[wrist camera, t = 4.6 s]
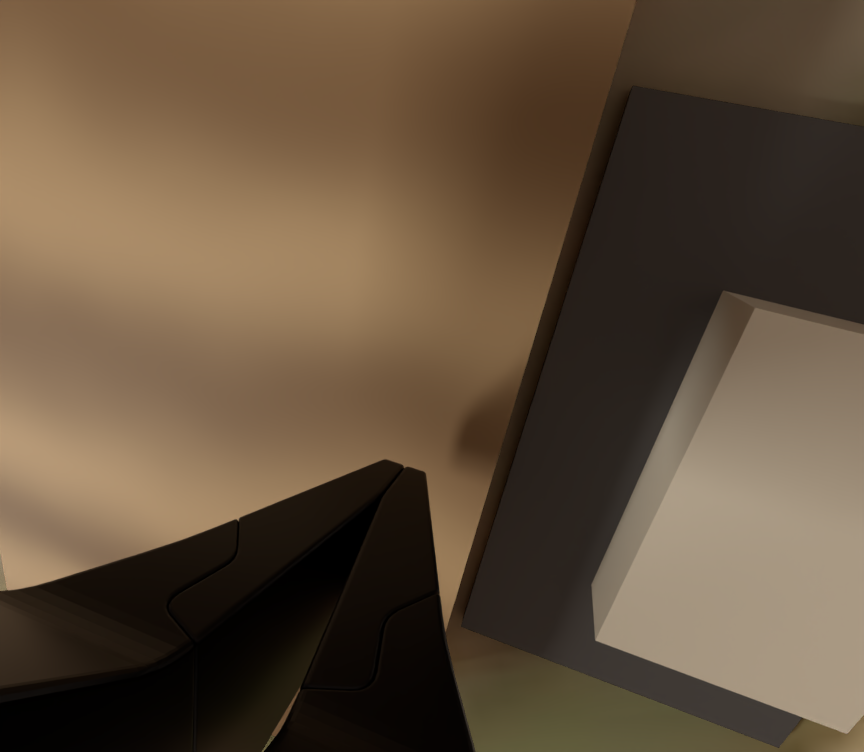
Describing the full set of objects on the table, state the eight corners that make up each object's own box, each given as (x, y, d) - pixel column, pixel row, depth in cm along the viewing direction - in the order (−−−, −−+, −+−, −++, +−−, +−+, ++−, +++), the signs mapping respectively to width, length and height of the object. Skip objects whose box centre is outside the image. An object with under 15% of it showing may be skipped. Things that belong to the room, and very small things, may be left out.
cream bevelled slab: (595, 640, 12) (591, 584, 14) (847, 734, 11) (808, 661, 13) (755, 307, 9) (722, 290, 11) (1133, 400, 8) (1028, 364, 10)
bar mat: (773, 734, 15) (778, 747, 14) (463, 617, 16) (461, 626, 16) (1188, 189, 9) (1215, 188, 8) (630, 89, 10) (632, 85, 10)
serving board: (432, 670, 18) (397, 791, 14) (113, 542, 20) (12, 618, 16) (660, -90, 9) (721, -280, 6) (67, -159, 12) (-162, -327, 8)
